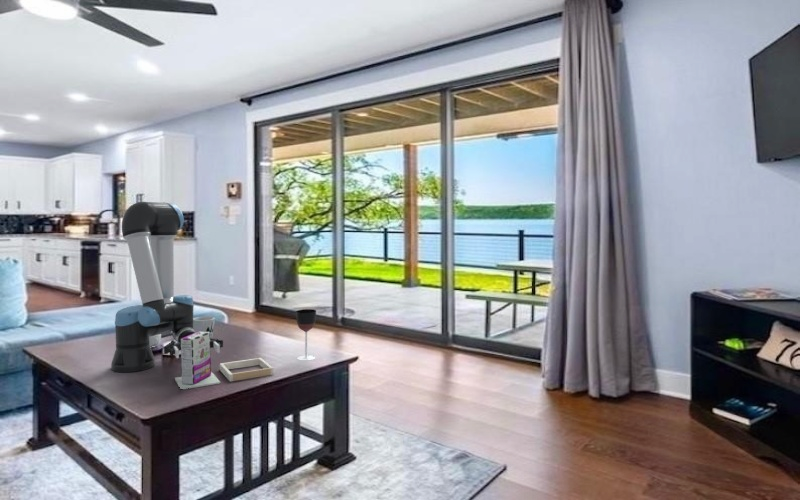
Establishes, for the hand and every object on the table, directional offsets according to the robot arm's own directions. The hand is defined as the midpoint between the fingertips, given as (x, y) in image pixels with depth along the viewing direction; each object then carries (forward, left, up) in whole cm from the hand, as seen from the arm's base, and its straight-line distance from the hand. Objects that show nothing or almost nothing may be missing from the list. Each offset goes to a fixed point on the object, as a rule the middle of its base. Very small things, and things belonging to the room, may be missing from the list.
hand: (198, 351), depth 176 cm
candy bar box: (0, +3, -11) cm, 12 cm away
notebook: (-8, +84, -12) cm, 86 cm away
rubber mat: (0, +3, -12) cm, 12 cm away
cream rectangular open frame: (+18, +5, -12) cm, 22 cm away
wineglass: (+45, +12, -12) cm, 48 cm away
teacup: (-8, +64, -12) cm, 66 cm away
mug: (+13, +70, -12) cm, 72 cm away
